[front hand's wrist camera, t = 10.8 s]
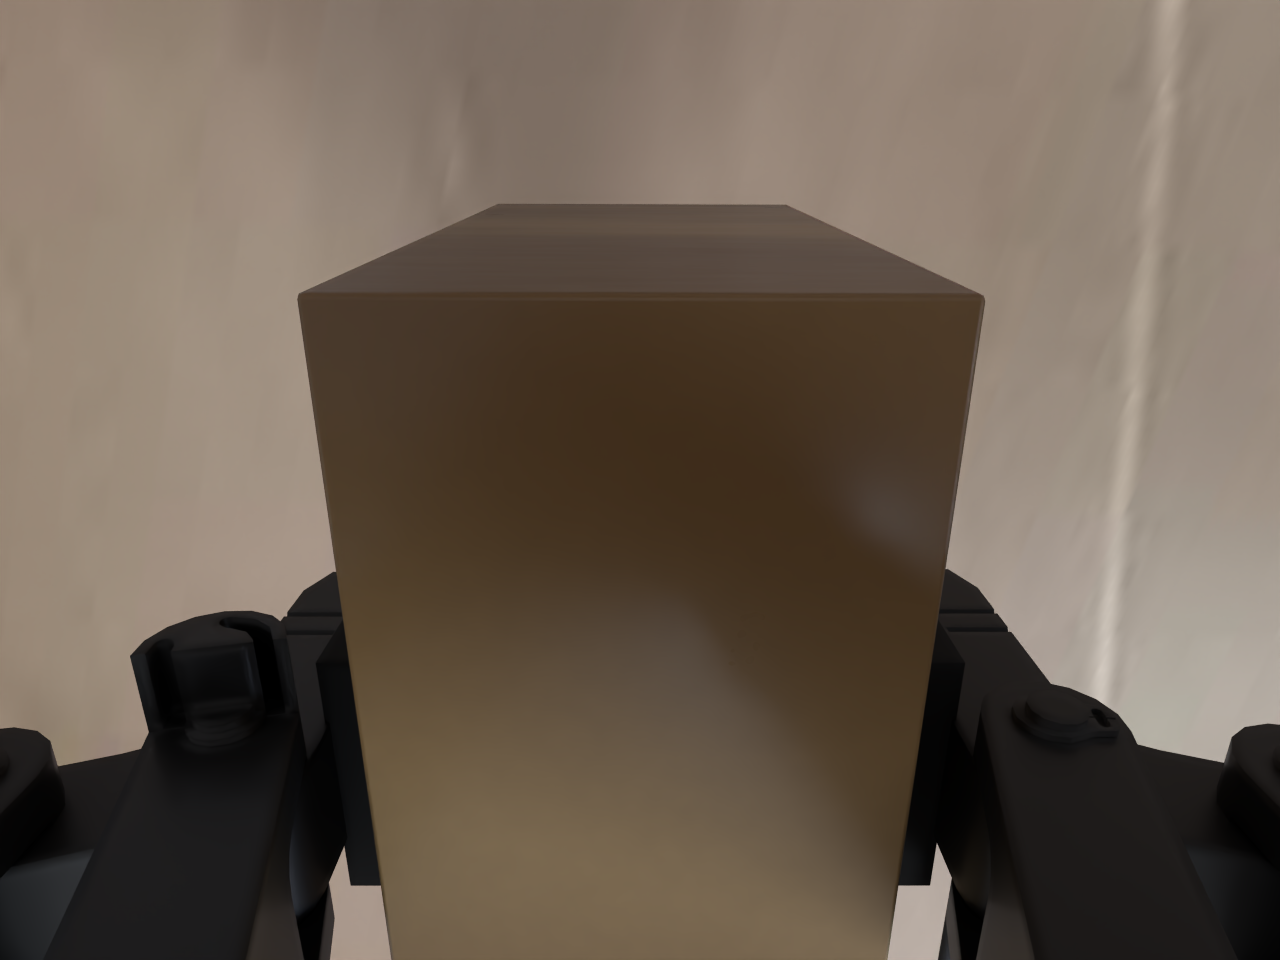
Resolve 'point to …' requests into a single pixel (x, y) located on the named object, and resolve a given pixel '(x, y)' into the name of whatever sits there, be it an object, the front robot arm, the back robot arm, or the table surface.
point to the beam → (640, 573)
